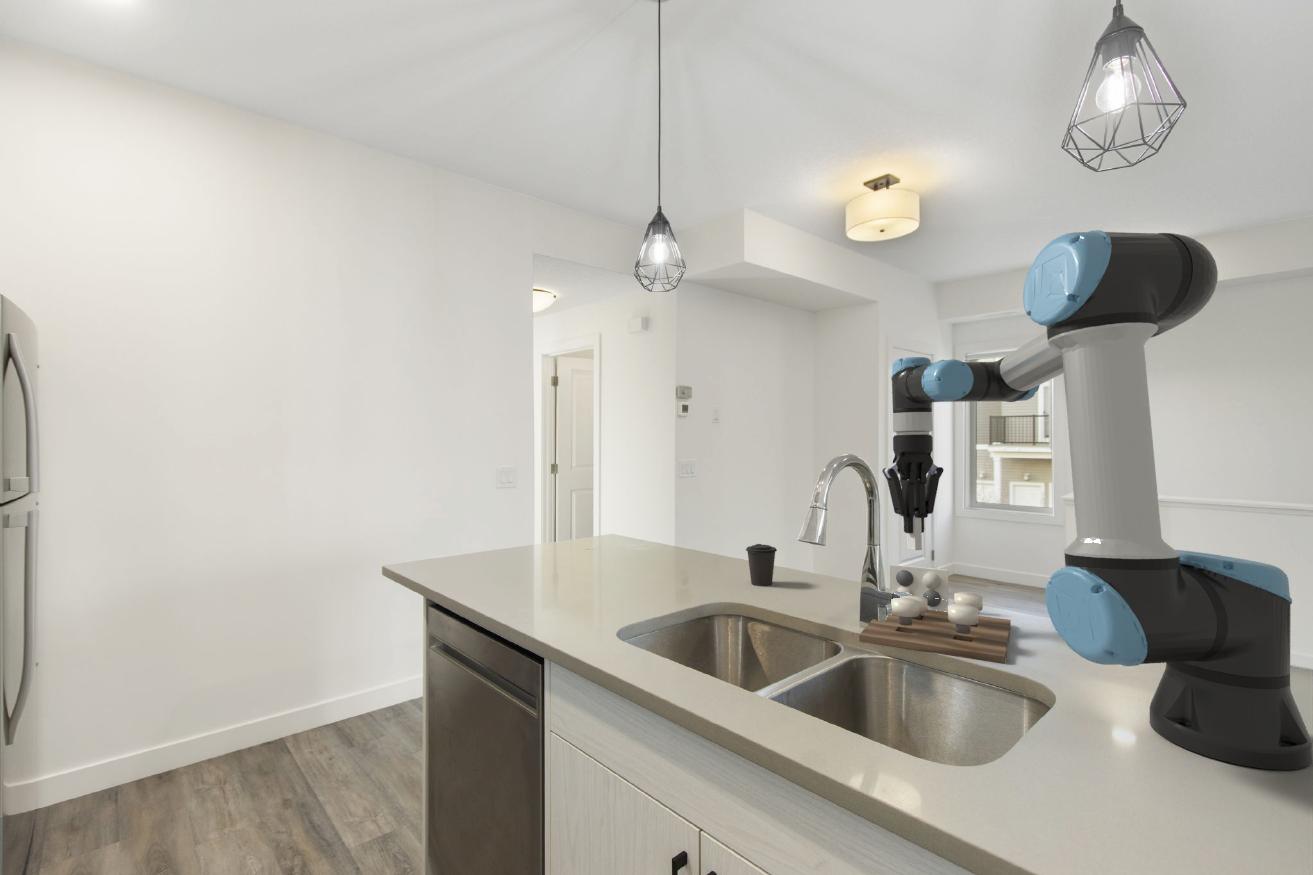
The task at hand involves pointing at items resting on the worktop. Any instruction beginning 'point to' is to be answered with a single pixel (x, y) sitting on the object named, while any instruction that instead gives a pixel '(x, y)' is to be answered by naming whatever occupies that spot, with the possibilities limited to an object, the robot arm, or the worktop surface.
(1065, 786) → the worktop surface
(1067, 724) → the worktop surface
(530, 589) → the worktop surface
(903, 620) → the button
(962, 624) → the button
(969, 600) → the button
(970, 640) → the board
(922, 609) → the button
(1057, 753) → the worktop surface
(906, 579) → the card
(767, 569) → the coffee cup
